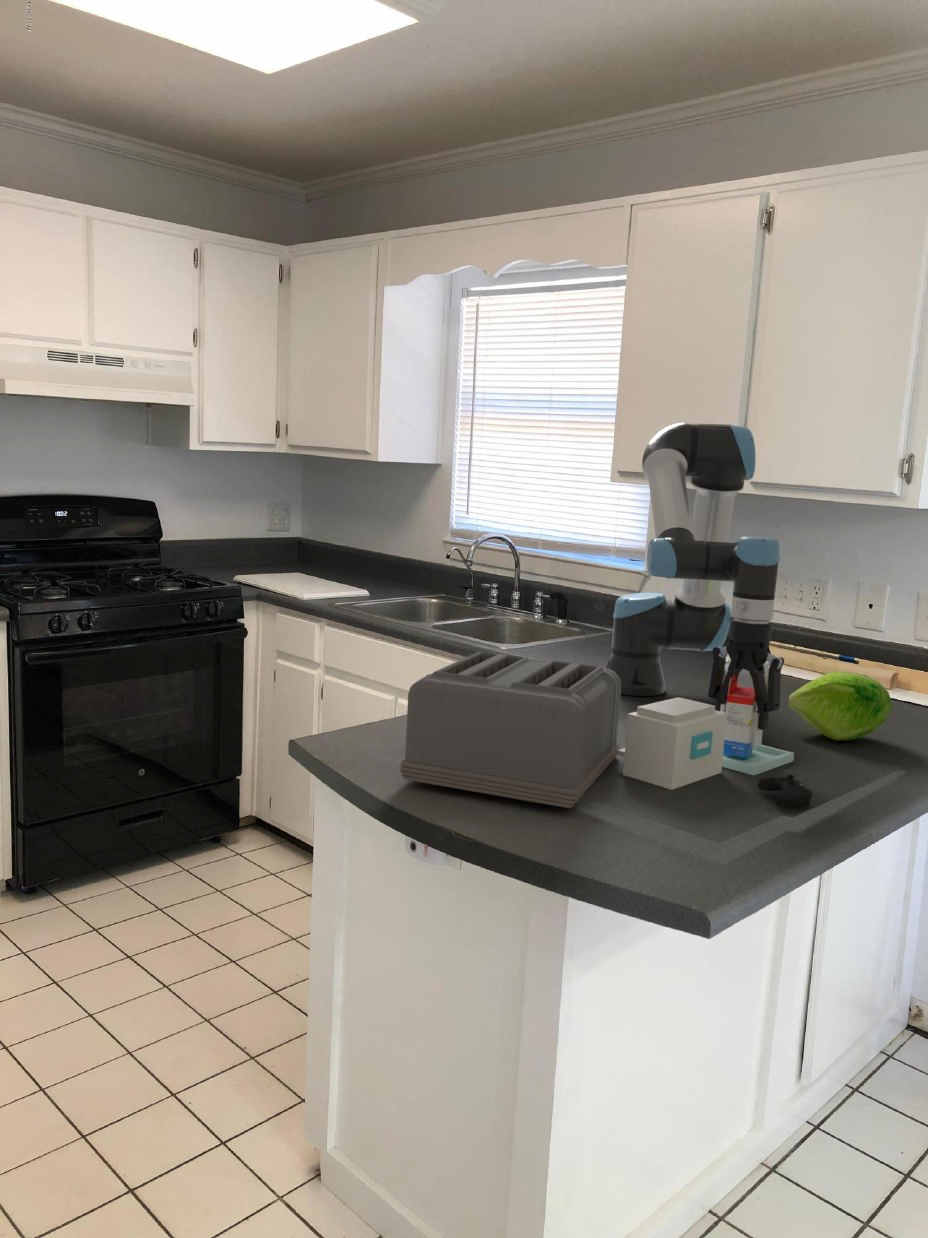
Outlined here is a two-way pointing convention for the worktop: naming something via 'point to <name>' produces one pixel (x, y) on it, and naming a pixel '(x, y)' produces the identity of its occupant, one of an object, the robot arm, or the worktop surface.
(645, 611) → the robot arm
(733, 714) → the ink box
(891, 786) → the worktop surface
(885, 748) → the worktop surface
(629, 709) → the worktop surface
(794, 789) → the gaming controller
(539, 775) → the toaster
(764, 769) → the tray
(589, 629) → the worktop surface
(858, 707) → the lettuce
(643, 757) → the white lidded box
